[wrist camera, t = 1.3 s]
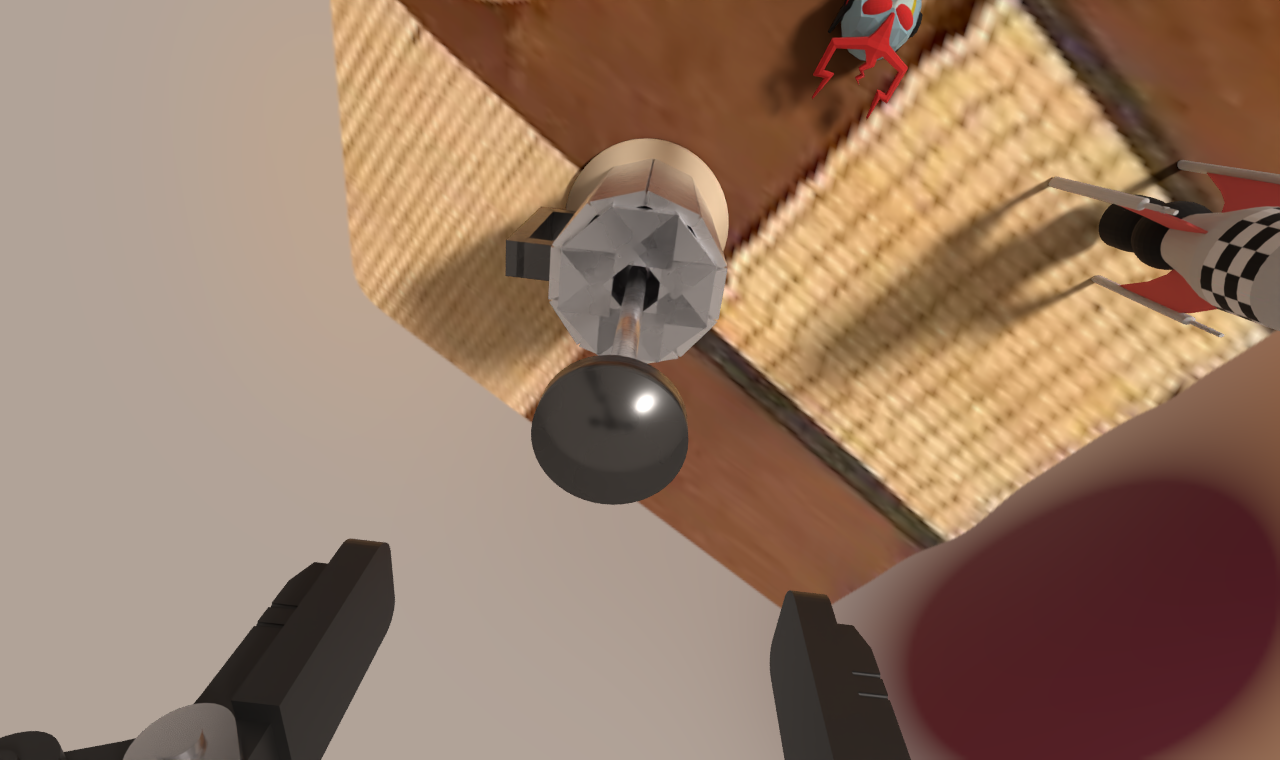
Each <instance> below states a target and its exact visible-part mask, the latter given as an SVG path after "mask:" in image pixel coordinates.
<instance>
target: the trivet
mask: <svg viewBox="0 0 1280 760" xmlns="http://www.w3.org/2000/svg"><path fill="white" fill-rule="evenodd" d="M652 158H653V162H654V160H655V159H657V160H659V161H661V162H663V163H665V164H667V165H669V166H671V167H673V168H676V169H678V170H680V171H682V172H684V173H686V174H688V175H690V176H691V178H692V177H693V179H694V181H695V183H696V185H697V187H698V189H699V191H700V193H701V195H702V197H703V199H704V201H705V203H706V205H707V207H708V209H709V211H710V213H711V216H712V219H713V222H714V225H715V229H716V232H717V235H718V238H719V242H720V245H721V248H722V251H723V250H724V248H725V244H726V240H727V235H728V210H727V204H726V200H725V197H724V193H723V191H722V189H721V187H720V184H719V182H718V181H717V179H716V177H715V176H714V174H713V172H712V171H711V170H710V169H709V168H708V166H707V165H706V164H705V163H704V162H703V161H702V160H701V159H700V158H699V157H698V156H696V155H695V154H693V153H692V152H691V151H689V150H688V149H686V148H684V147H682V146H680V145H678V144H675V143H672V142H669V141H665V140H660V139H651V138H642V139H633V140H628V141H624V142H621V143H618V144H616V145H613V146H611V147H610V148H608V149H606V150H604V151H602V152H601V153H600V154H599V155H597V156H596V157H595V158H593V159H592V160H591V161H590V162H589V163H588V164H587V165H586V166H585V168H584V169H583V170H582V172H581V173H580V174H579V175H578V177H577V179H576V181H575V182H574V184H573V186H572V189H571V191H570V194H569V197H568V201H567V205H566V210H571V211H577V210H578V209H579V207H580V206H581V205H582V203H583V202H584V200H585V199H586V198H587V197H588V195H589V194H590V193H591V192H592V191H593V190H594V188H595V187H596V186H597V185H598V184H599V182H600V181H601V180H602V179H603V178H604V177H605V175H606V174H607V173H608V172H609V171H610V169H611V168H613V167H614V166H619V165H624V164H628V163H633V162H638V161H642V160H647V159H652Z"/></svg>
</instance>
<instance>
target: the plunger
mask: <svg viewBox="0 0 1280 760" xmlns="http://www.w3.org/2000/svg"><path fill="white" fill-rule="evenodd" d="M659 284H660V282H659V280H658V279H657V278H656V277H655V275H654V274H653V273H652V272H651V270H650V269H649V268H648V267H643V266H635V265H627V266H626V267H625V268H623V269H622V270H621V271H620V272H618V273H617V274H616V275H614V281H613V292H614V293H615V294H616V295H617V296H618V298H619V299H620V300H621V301H622V307H621V311H620V316H619V320H618V325H617V329H616V334H615V338H614V343H613V347H612V352H611V355H599V356H593V357H588V358H585V359H582V360H579V361H577V362H575V363H573V364H571V365H569V366H567V367H566V368H564V369H563V370H562V371H560V372H559V373H558V374H557V375H556V376H555V377H554V378H553V379H552V380H551V381H550V383H549V384H548V386H547V387H546V389H545V391H544V393H543V395H542V397H541V400H540V402H539V404H538V407H537V409H536V412H535V414H534V418H533V421H532V429H531V440H532V445H533V450H534V453H535V455H536V458H537V460H538V462H539V464H540V466H541V467H542V469H543V470H544V472H545V473H546V474H547V475H548V476H549V478H550V479H551V480H552V481H553V482H555V483H556V484H557V485H558V486H559V487H561V488H562V489H564V490H565V491H566V492H568V493H570V494H572V495H574V496H576V497H579V498H581V499H584V500H587V501H591V502H594V503H600V504H612V505H614V504H626V503H632V502H636V501H640V500H643V499H645V498H648V497H650V496H652V495H654V494H656V493H658V492H659V491H660V490H662V489H663V488H665V487H666V486H667V485H668V484H669V483H670V482H671V481H672V480H673V479H674V478H675V476H676V475H677V474H678V472H679V471H680V469H681V467H682V465H683V463H684V460H685V458H686V454H687V449H688V426H687V414H686V409H685V405H684V403H683V400H682V398H681V396H680V394H679V392H678V390H677V389H676V388H675V386H674V385H673V384H672V382H671V381H670V380H669V379H668V378H667V377H666V376H665V375H664V374H662V373H661V372H660V371H658V370H657V369H655V368H654V367H652V366H651V365H649V364H647V363H644V362H642V361H640V360H637V352H638V344H639V336H640V328H641V320H642V312H643V307H644V306H645V305H646V304H648V303H649V302H650V301H652V300H653V299H654V298H656V297H657V296H658V292H659Z"/></svg>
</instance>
